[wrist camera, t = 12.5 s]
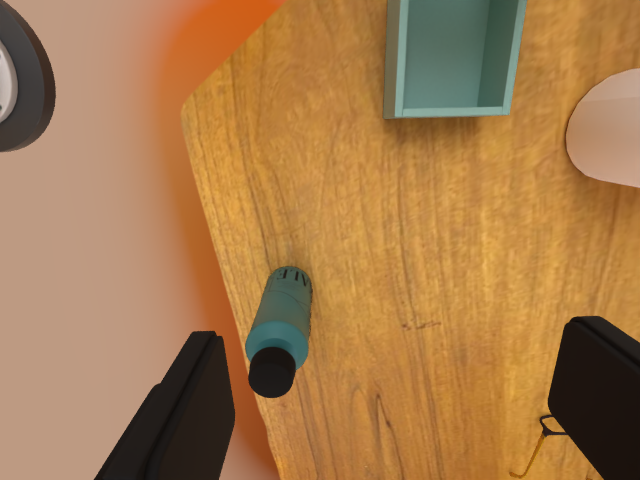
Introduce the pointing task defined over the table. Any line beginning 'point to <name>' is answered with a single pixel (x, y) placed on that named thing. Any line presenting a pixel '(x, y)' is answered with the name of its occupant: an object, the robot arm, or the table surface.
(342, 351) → the table surface
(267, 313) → the beverage bottle
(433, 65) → the cool box
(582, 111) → the can
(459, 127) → the table surface
